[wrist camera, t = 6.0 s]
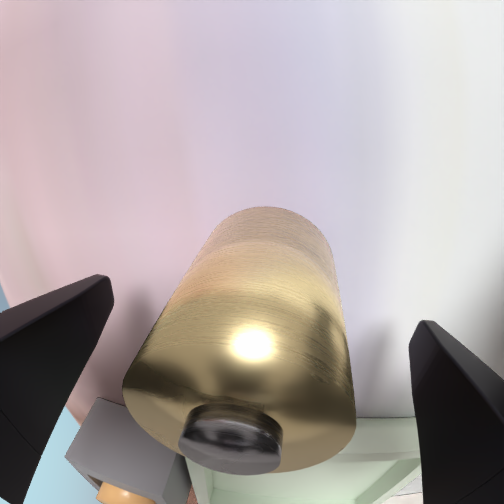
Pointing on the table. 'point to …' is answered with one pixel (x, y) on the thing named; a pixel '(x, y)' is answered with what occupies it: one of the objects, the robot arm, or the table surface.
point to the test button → (119, 496)
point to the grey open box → (127, 456)
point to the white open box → (406, 499)
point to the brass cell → (250, 352)
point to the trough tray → (327, 472)
